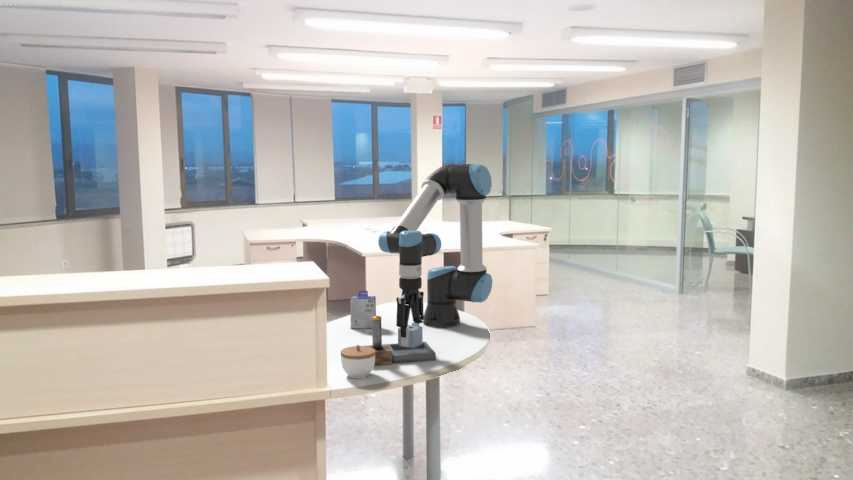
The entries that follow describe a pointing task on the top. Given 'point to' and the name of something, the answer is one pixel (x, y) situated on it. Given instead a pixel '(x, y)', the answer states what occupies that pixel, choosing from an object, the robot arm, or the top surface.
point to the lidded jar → (358, 360)
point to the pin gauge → (376, 332)
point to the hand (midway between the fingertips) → (410, 343)
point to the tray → (412, 353)
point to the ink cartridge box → (362, 310)
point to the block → (412, 336)
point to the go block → (383, 355)
